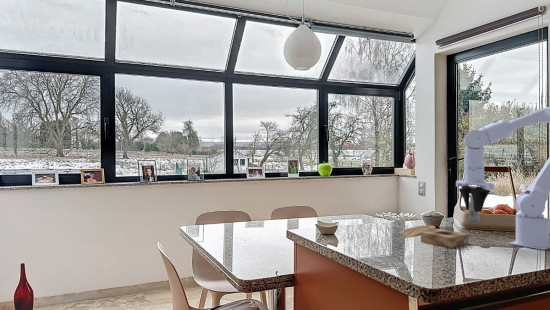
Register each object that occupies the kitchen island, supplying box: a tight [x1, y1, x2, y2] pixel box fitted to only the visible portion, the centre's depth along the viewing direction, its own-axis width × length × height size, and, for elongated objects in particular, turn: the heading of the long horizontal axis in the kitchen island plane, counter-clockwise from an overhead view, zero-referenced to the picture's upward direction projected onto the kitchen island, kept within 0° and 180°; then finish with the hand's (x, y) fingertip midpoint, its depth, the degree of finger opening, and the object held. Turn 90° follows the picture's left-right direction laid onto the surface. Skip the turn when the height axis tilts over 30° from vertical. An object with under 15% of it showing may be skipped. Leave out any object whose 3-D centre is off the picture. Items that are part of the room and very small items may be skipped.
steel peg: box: [468, 193, 480, 223], centre depth 128 cm, size 3×3×9 cm
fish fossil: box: [397, 225, 437, 239], centre depth 142 cm, size 26×10×1 cm, turn 142°
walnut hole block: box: [420, 228, 470, 249], centre depth 125 cm, size 10×10×3 cm
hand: (473, 210), depth 128 cm, fingers closed on steel peg, 3 cm apart
